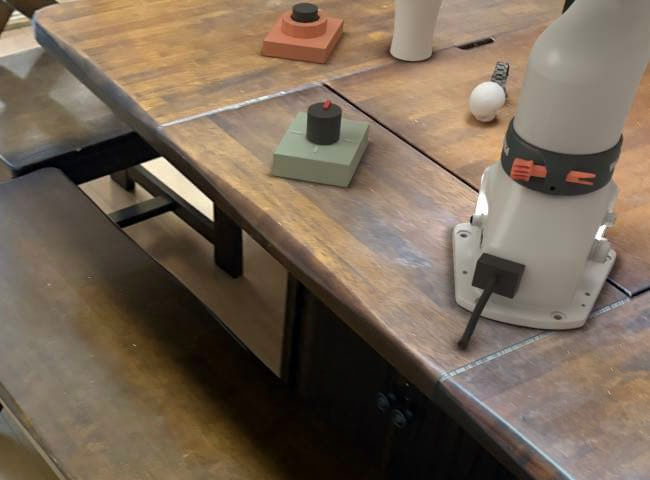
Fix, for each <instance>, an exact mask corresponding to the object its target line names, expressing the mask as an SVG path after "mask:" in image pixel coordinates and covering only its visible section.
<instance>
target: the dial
mask: <svg viewBox="0 0 650 480" xmlns="http://www.w3.org/2000/svg"><path fill="white" fill-rule="evenodd" d="M306 113H307V129H306V138H307V139H308V140H309V141H310V142H312V143H314V144H319V145H329V144H333V143H335V142H337V141H338V140H339V138H340V129H341V118H342V117H343V116H342V115H343V109H342V107H341V106H340V105H338V104H335V103H332V100H330V99H327V100H326V101H325V102H324V101H320V102H316V103H313V104H310V105H309V106H308V108H307V112H306Z"/></svg>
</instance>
